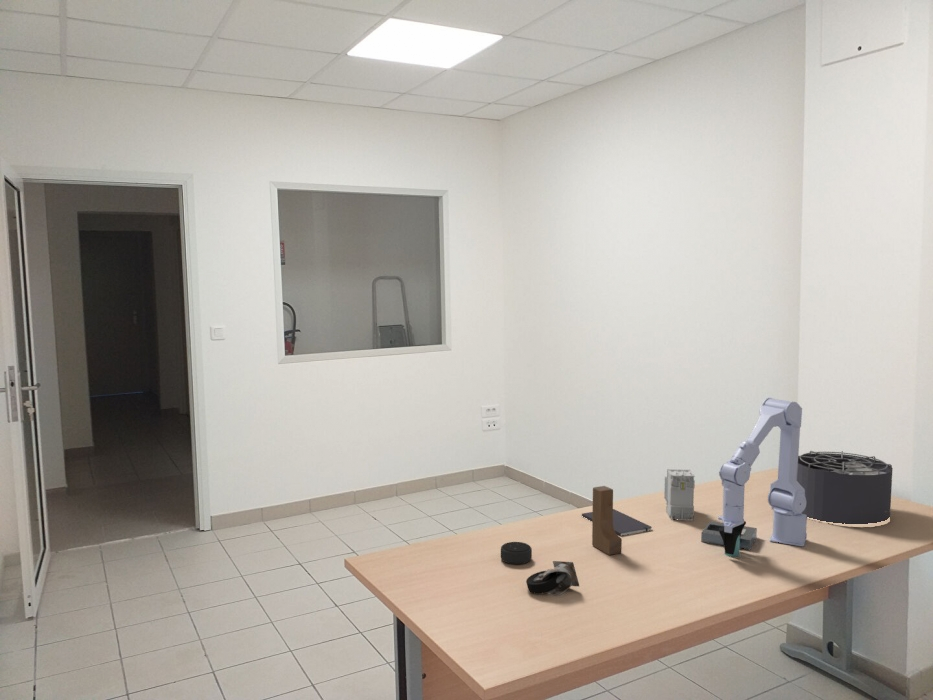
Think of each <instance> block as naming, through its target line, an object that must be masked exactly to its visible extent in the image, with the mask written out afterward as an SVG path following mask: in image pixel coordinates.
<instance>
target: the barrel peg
mask: <svg viewBox="0 0 933 700" xmlns="http://www.w3.org/2000/svg"><path fill="white" fill-rule="evenodd" d="M739 546H740V534H739V536H738V538H737V541H736V546H735V551H734V554H733V555H732V554H726V553H725V552H724V555H725V556H727V557H730V556H731V558H736V557H735V556H738V557H739V556H740V548H739Z"/></svg>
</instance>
